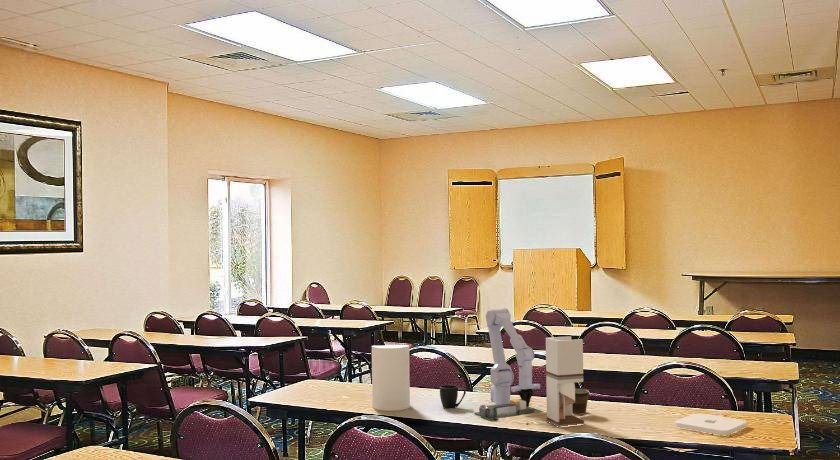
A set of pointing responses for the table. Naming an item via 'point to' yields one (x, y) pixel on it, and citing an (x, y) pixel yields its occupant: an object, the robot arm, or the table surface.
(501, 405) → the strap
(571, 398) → the coffee maker
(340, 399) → the table surface
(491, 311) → the robot arm
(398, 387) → the cylinder
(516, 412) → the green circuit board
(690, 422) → the computer
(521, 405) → the block
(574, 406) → the ceramic cup
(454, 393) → the mug
